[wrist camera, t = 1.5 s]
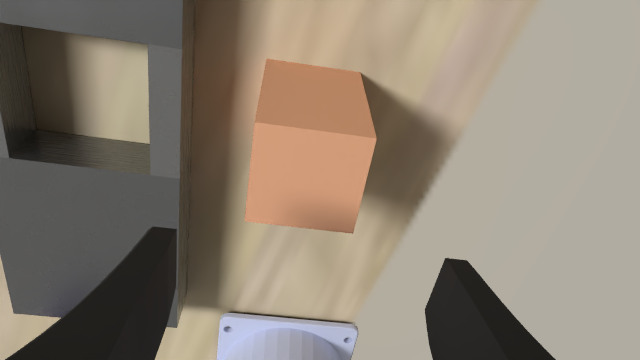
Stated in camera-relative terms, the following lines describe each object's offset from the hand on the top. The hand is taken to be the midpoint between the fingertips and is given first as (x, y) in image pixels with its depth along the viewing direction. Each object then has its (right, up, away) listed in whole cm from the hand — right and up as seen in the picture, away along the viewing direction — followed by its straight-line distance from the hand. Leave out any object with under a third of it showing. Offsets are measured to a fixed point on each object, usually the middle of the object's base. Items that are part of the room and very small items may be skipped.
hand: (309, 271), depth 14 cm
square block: (0, +6, +9) cm, 11 cm away
